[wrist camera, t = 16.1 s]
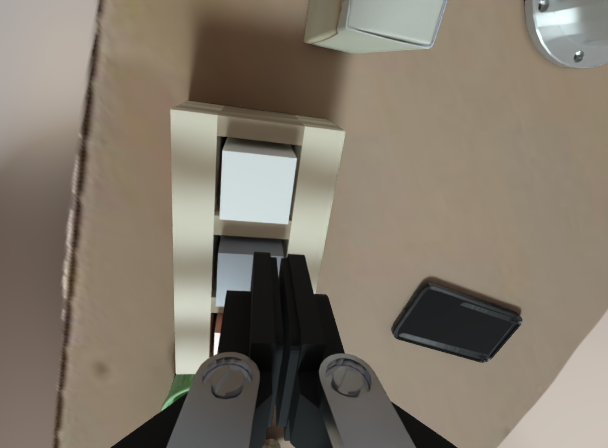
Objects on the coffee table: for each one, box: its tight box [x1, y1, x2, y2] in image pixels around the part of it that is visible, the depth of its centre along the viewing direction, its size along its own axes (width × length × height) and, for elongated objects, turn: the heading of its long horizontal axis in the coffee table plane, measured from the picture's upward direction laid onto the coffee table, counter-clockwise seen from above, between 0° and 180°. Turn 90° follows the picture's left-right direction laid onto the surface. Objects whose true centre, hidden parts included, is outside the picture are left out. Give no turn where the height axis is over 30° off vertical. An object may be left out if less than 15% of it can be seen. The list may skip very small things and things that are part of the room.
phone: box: [391, 282, 522, 363], centre depth 39 cm, size 8×1×15 cm
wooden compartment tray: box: [171, 101, 346, 374], centre depth 28 cm, size 22×11×6 cm, turn 172°
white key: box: [220, 137, 297, 224], centre depth 24 cm, size 4×4×6 cm
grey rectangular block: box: [216, 235, 284, 307], centre depth 26 cm, size 4×4×6 cm
